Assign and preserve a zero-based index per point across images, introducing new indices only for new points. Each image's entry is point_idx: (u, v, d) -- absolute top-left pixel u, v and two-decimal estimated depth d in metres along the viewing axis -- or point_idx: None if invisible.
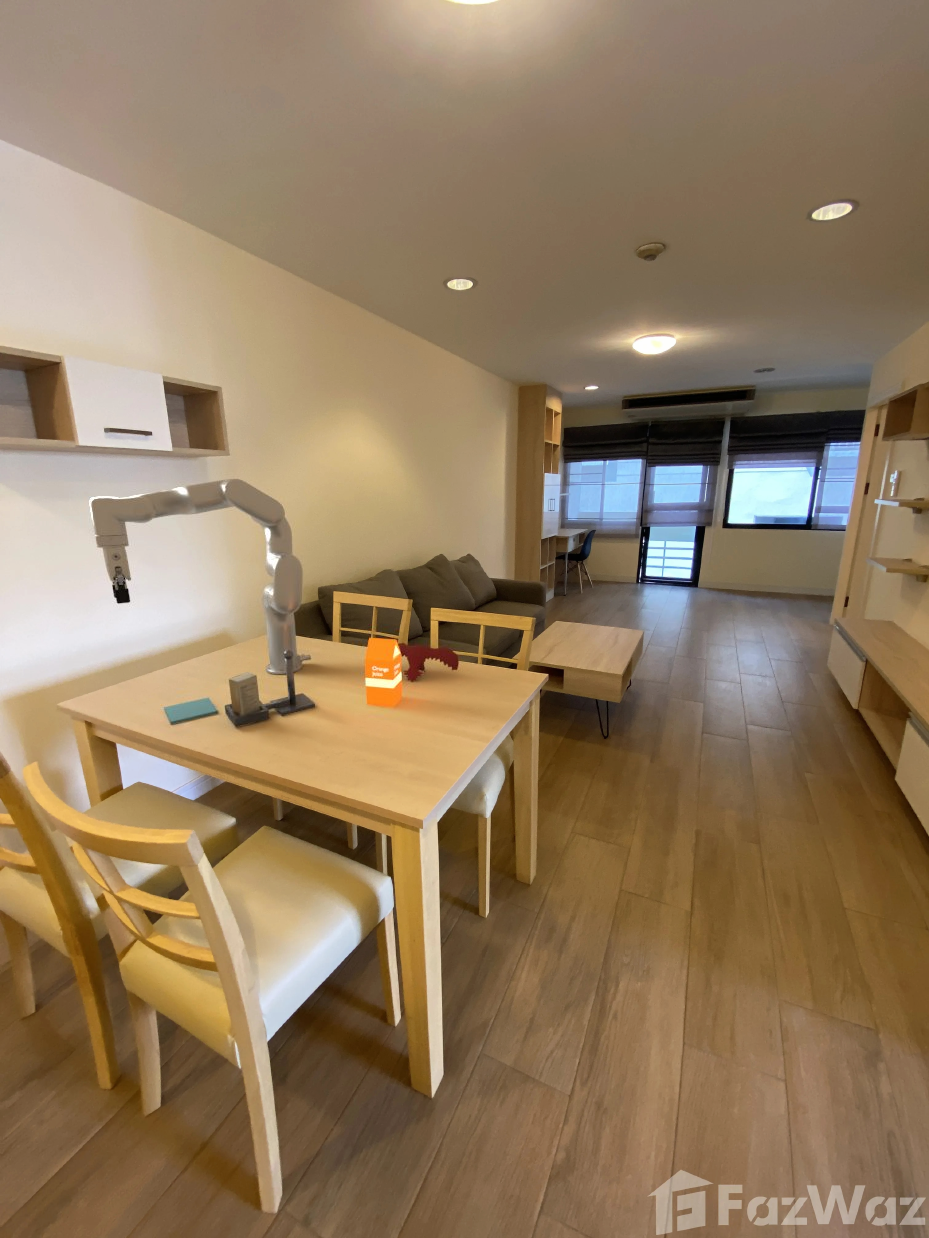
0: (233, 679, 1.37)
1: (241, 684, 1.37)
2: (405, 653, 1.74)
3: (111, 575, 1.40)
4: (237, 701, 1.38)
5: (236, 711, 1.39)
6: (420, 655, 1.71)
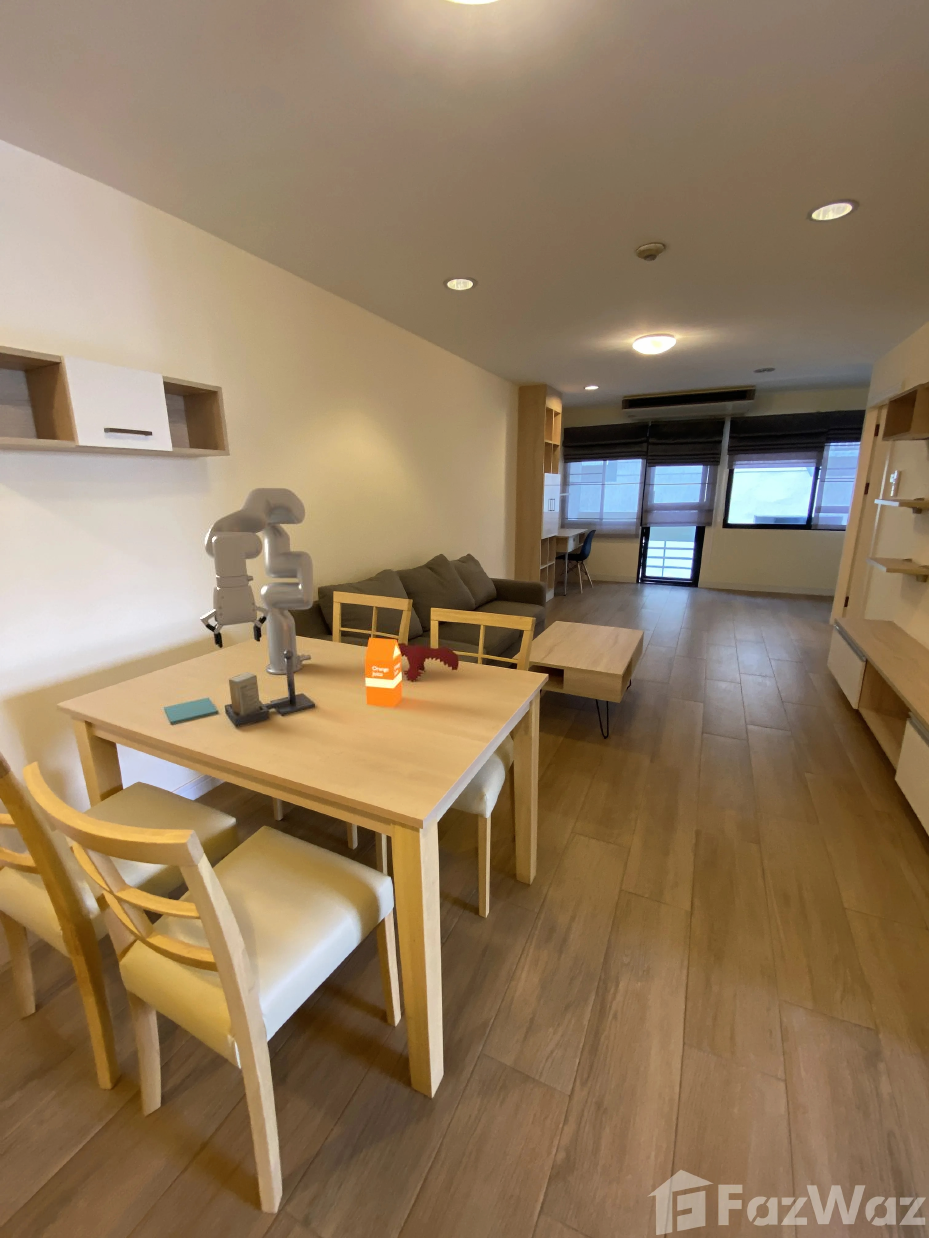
0: (233, 679, 1.37)
1: (241, 684, 1.37)
2: (405, 653, 1.74)
3: (256, 613, 1.36)
4: (237, 701, 1.38)
5: (236, 711, 1.39)
6: (420, 655, 1.71)
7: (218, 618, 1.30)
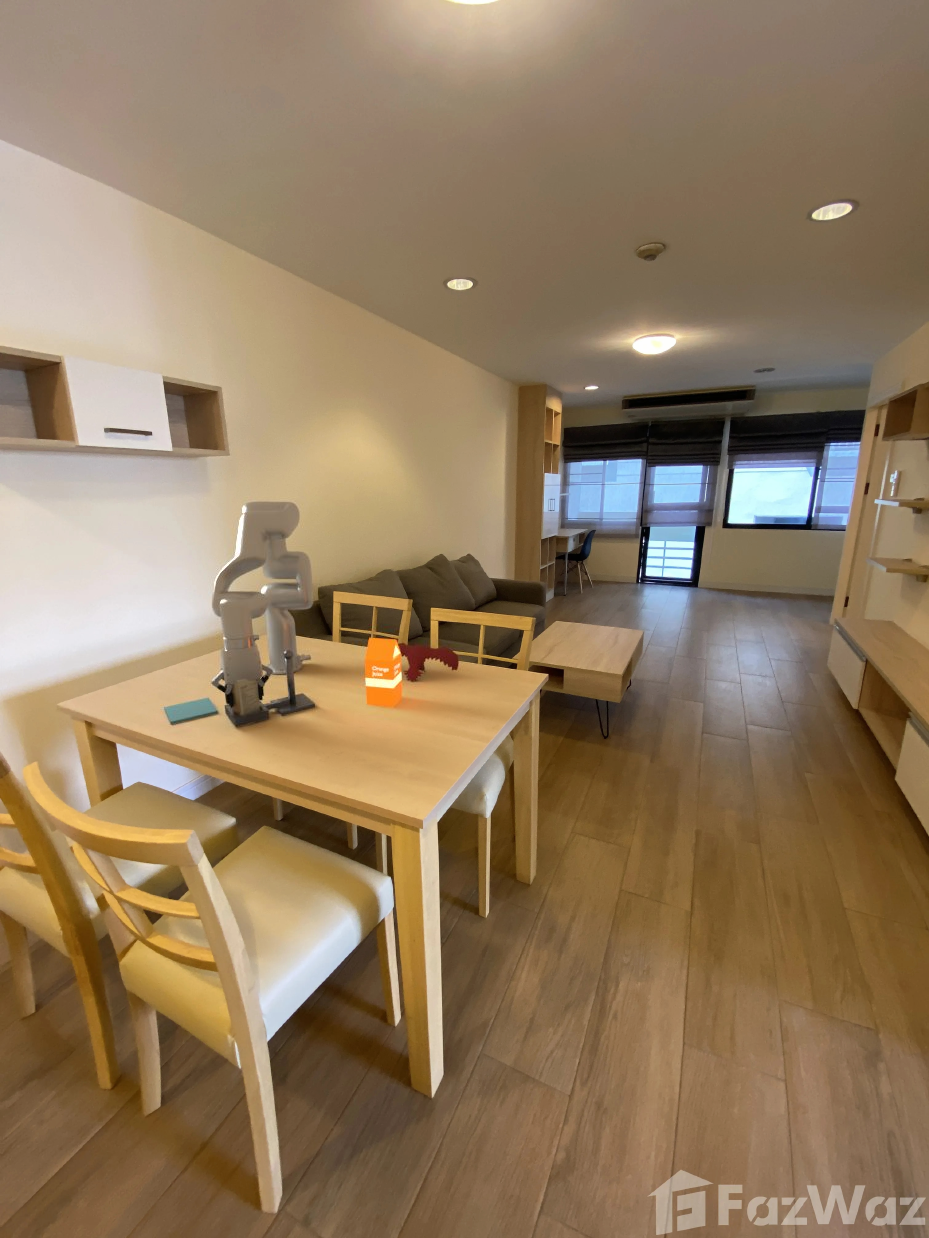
0: None
1: (241, 684, 1.37)
2: (405, 653, 1.74)
3: (262, 671, 1.40)
4: (237, 701, 1.38)
5: (236, 711, 1.39)
6: (420, 655, 1.71)
7: (225, 678, 1.35)
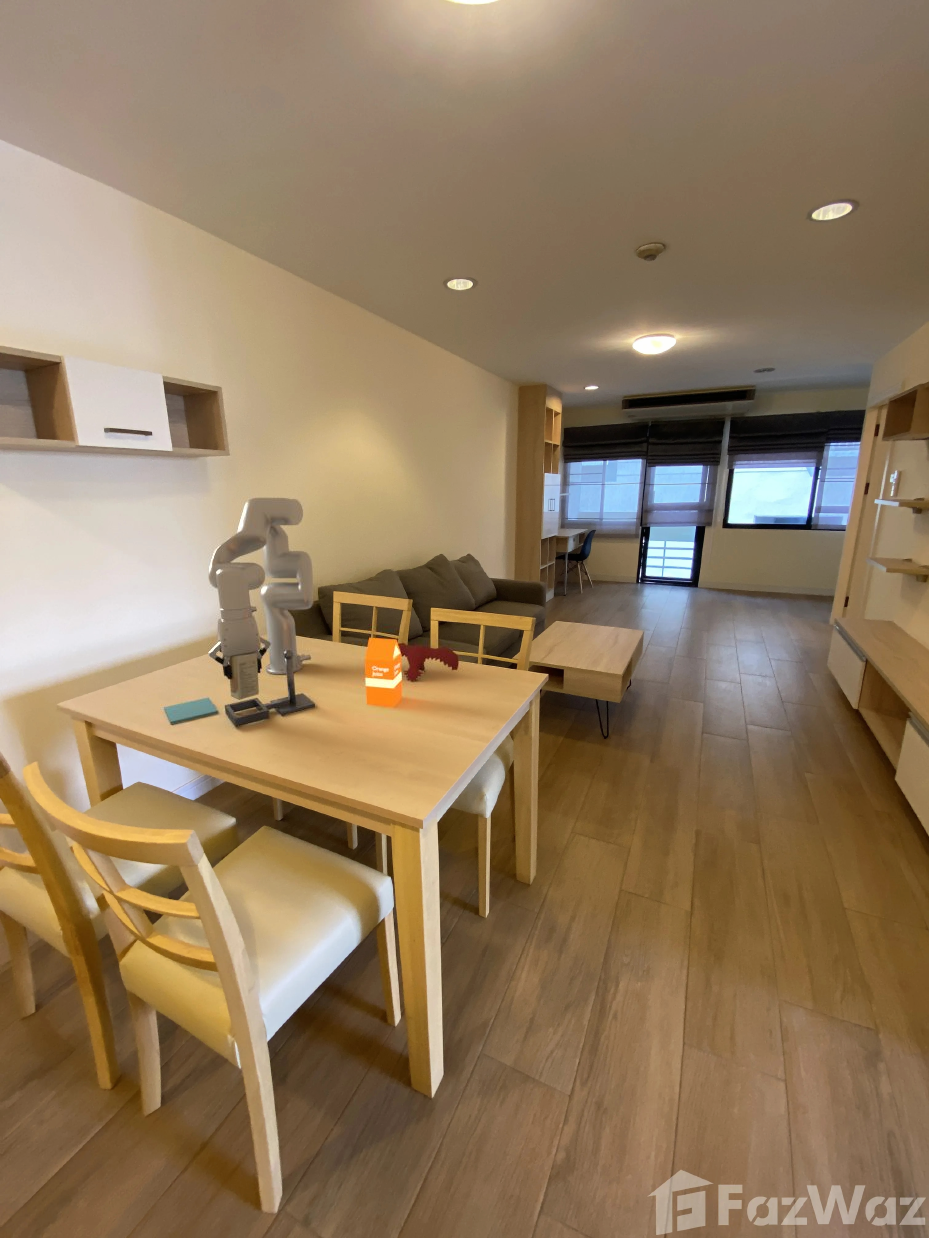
0: None
1: (240, 661, 1.35)
2: (405, 653, 1.74)
3: (260, 643, 1.39)
4: (235, 678, 1.36)
5: (233, 688, 1.37)
6: (420, 655, 1.71)
7: (222, 649, 1.33)
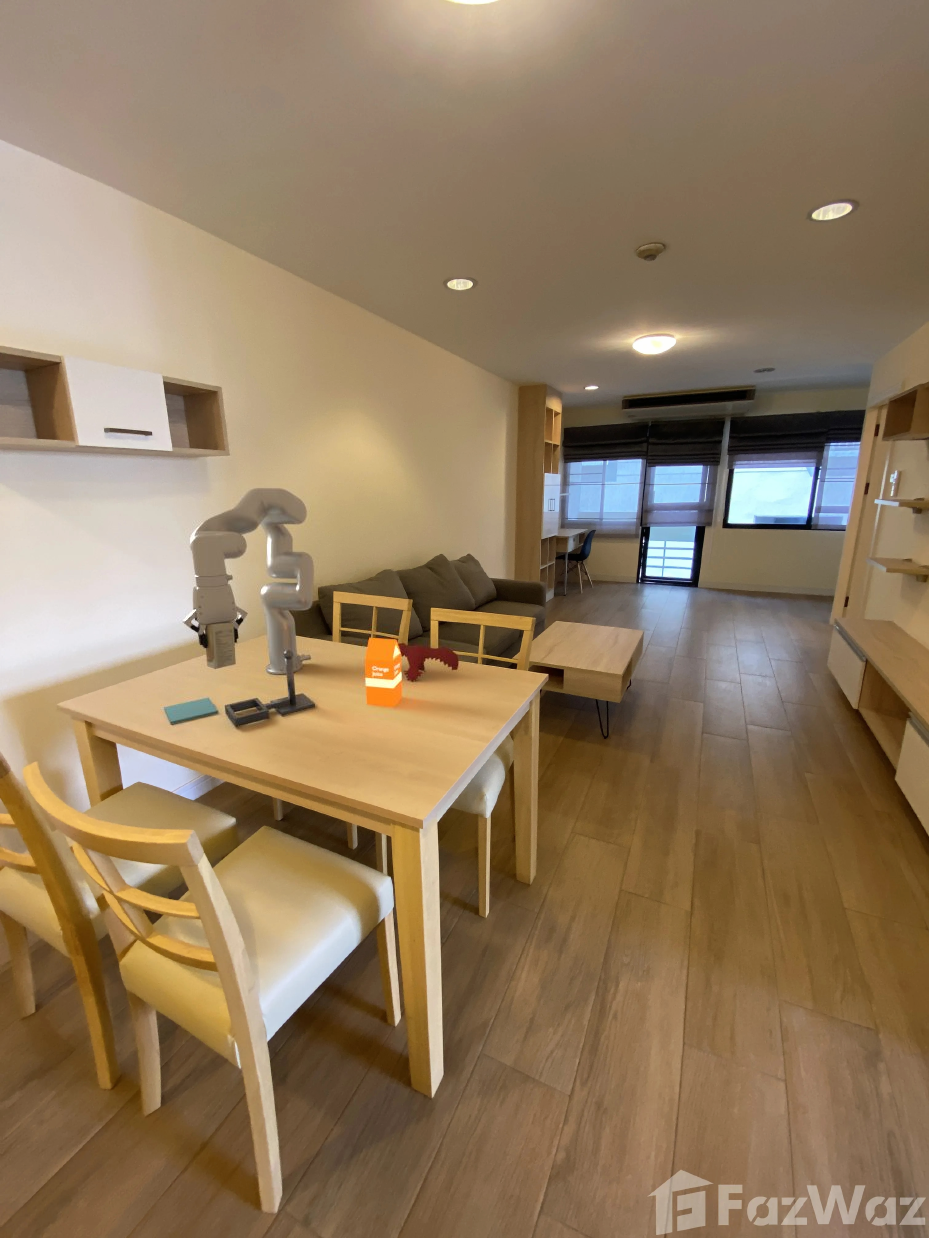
0: (209, 624, 1.35)
1: (216, 629, 1.34)
2: (405, 653, 1.74)
3: (236, 612, 1.38)
4: (211, 647, 1.35)
5: (209, 658, 1.36)
6: (420, 655, 1.71)
7: (198, 617, 1.32)
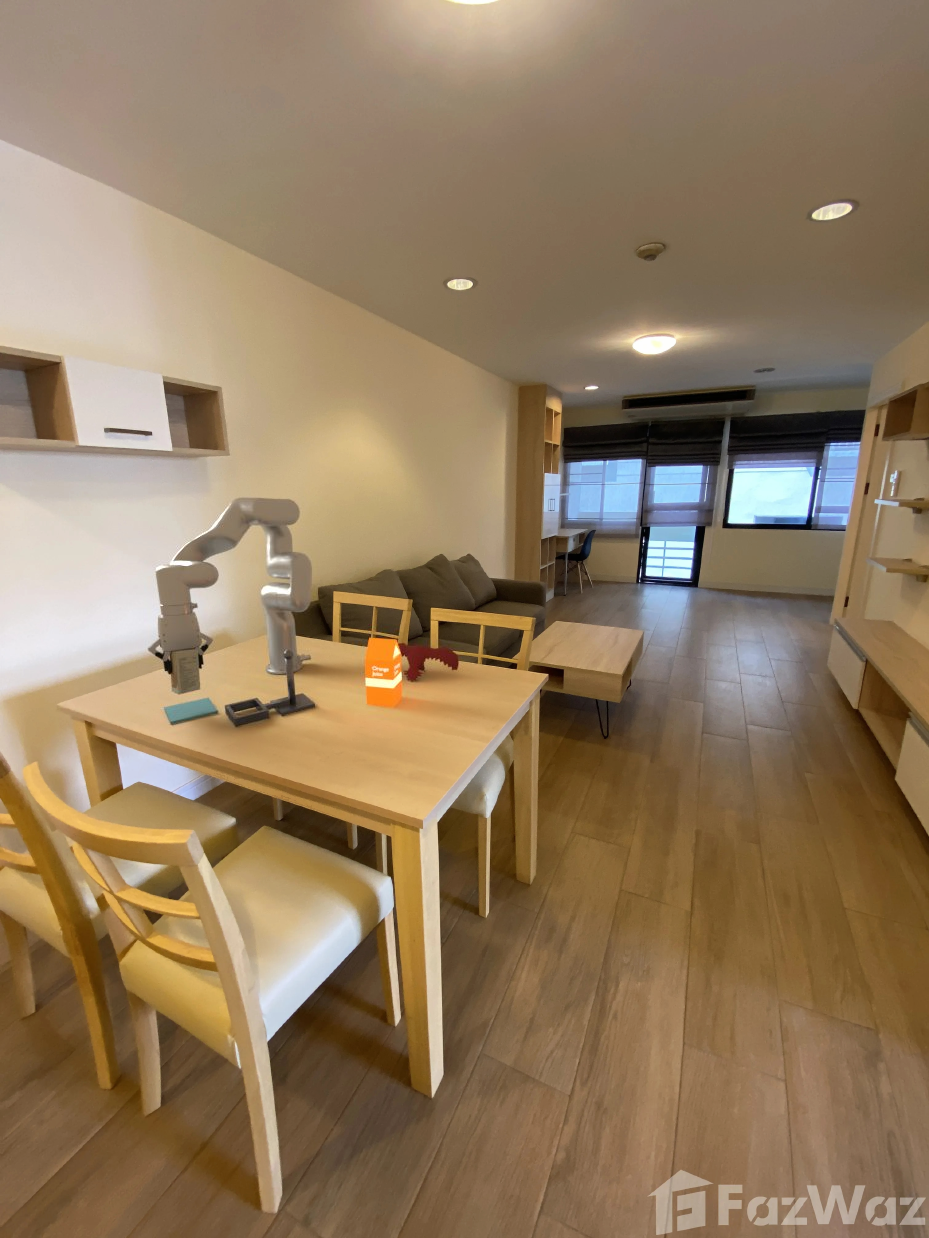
0: (173, 651, 1.39)
1: (180, 656, 1.38)
2: (405, 653, 1.74)
3: (201, 639, 1.42)
4: (175, 673, 1.39)
5: (174, 683, 1.40)
6: (420, 655, 1.71)
7: (162, 644, 1.36)
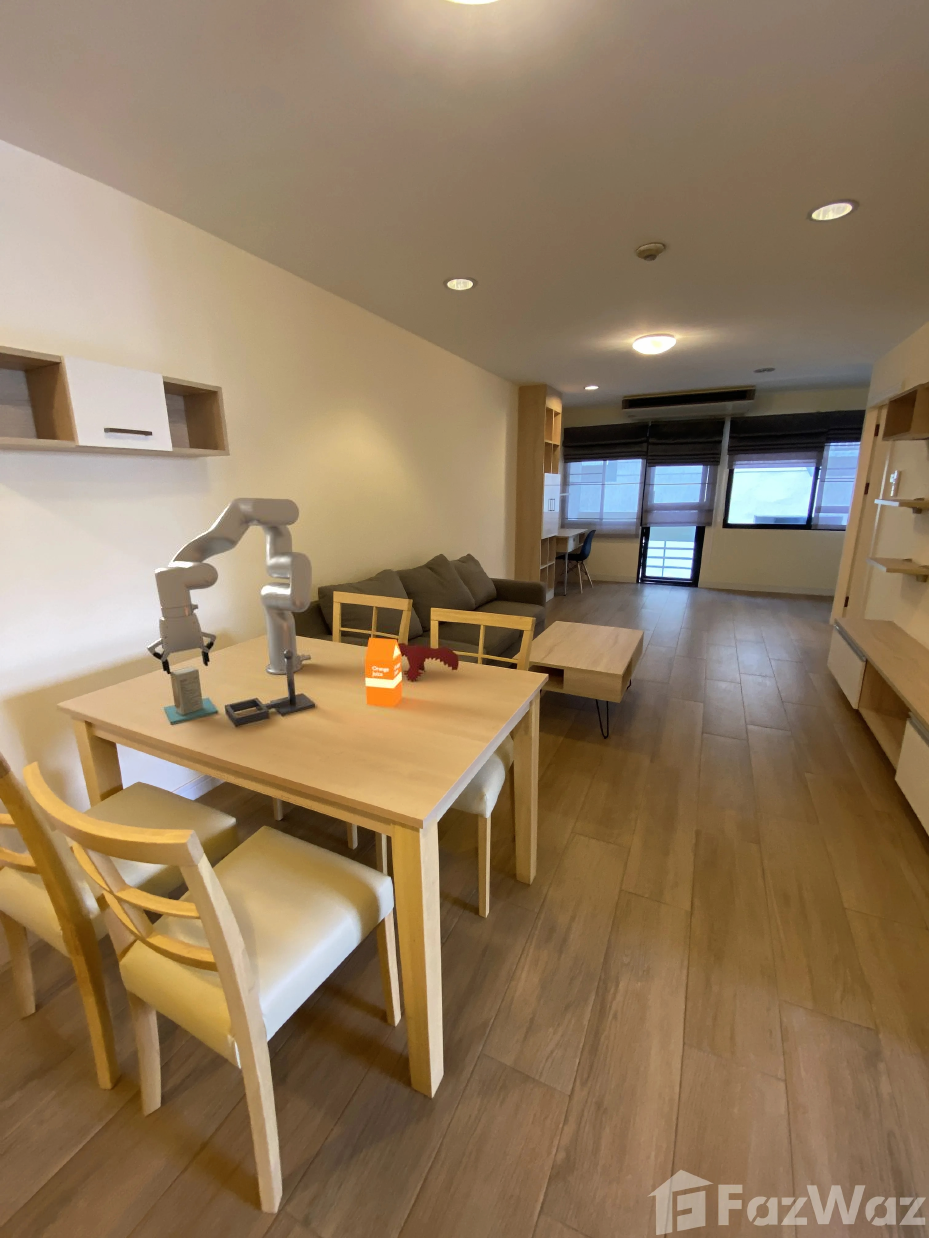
0: (174, 672, 1.40)
1: (181, 678, 1.39)
2: (405, 653, 1.74)
3: (202, 640, 1.43)
4: (177, 694, 1.40)
5: (176, 704, 1.42)
6: (420, 655, 1.71)
7: (164, 646, 1.37)
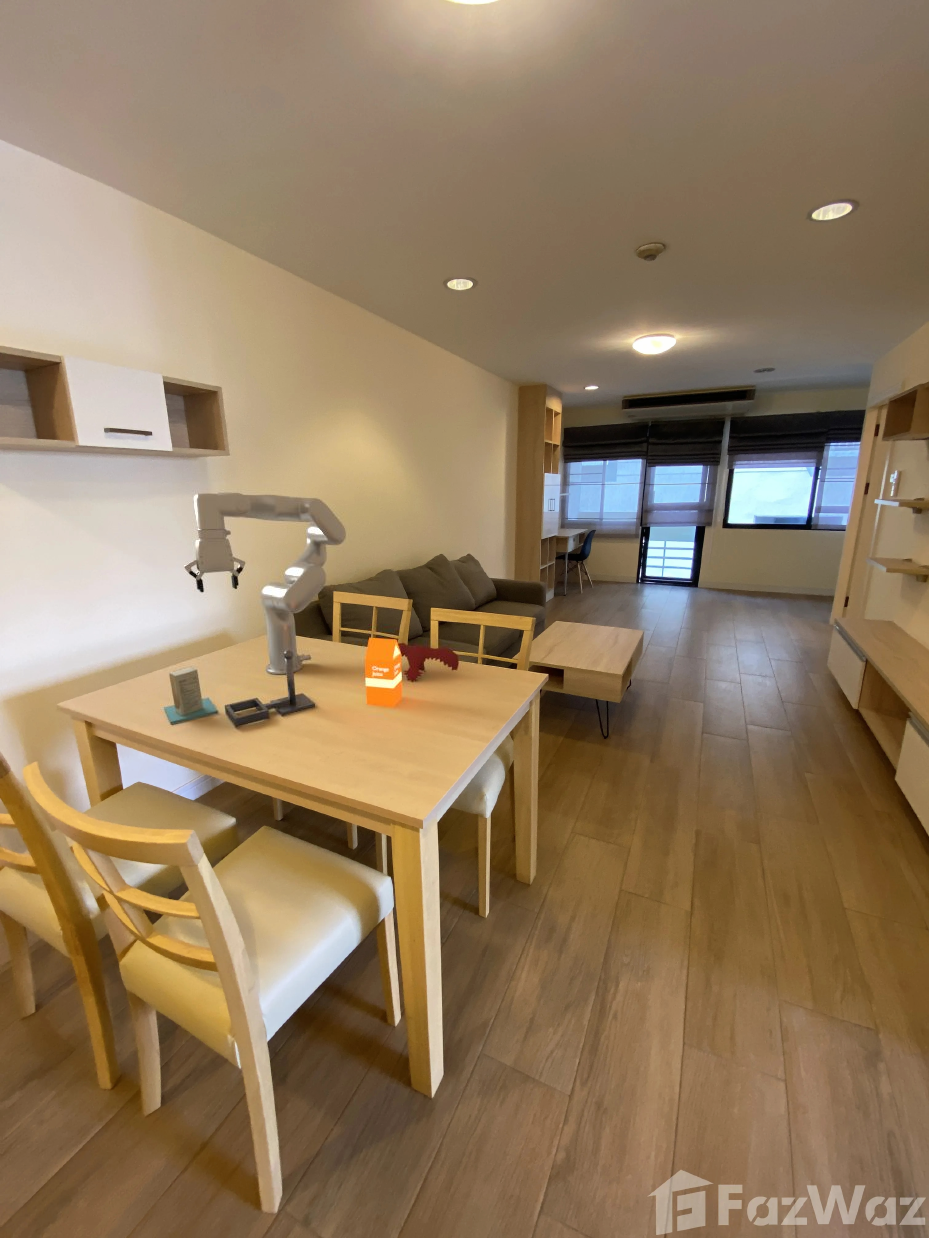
0: (173, 673, 1.40)
1: (180, 678, 1.39)
2: (405, 653, 1.74)
3: (233, 563, 1.56)
4: (176, 695, 1.40)
5: (176, 704, 1.42)
6: (420, 655, 1.71)
7: (199, 566, 1.51)
